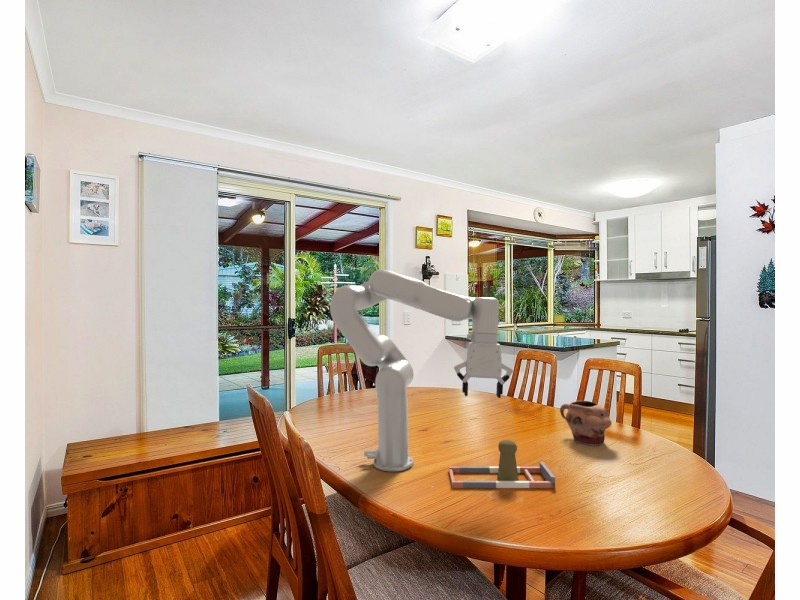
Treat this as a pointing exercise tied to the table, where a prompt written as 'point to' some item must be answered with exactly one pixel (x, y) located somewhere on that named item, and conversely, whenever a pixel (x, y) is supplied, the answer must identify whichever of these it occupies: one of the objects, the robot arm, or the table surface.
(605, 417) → the sculpted ceramic mug
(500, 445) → the cork
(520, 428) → the table surface
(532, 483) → the frame
